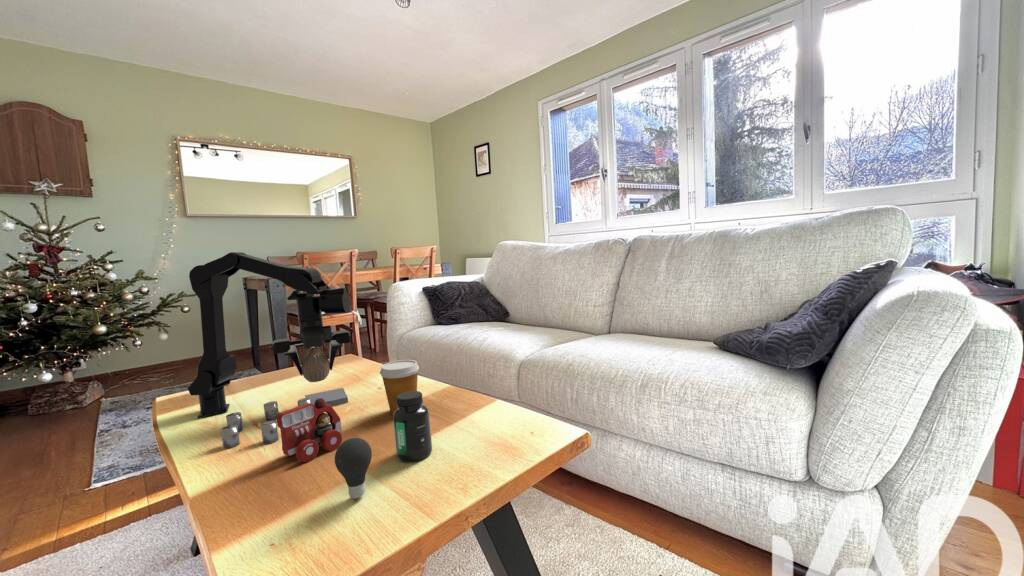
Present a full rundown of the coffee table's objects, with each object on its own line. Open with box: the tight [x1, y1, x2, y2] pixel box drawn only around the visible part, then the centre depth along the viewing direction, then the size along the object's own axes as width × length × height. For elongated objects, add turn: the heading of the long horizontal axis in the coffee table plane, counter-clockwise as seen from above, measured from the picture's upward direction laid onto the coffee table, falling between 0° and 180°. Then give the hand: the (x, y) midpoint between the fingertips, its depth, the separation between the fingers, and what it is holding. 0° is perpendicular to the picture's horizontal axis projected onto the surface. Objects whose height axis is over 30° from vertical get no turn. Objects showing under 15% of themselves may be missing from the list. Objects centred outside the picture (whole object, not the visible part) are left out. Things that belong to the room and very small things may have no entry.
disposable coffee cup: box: [379, 359, 420, 416], centre depth 103 cm, size 10×10×12 cm
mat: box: [304, 387, 349, 407], centre depth 114 cm, size 10×10×2 cm
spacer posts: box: [220, 397, 311, 450], centre depth 97 cm, size 18×18×4 cm
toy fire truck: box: [275, 398, 343, 463], centre depth 84 cm, size 7×12×10 cm, turn 145°
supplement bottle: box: [392, 390, 433, 463], centre depth 80 cm, size 7×7×12 cm
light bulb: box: [334, 437, 373, 501], centre depth 67 cm, size 6×6×10 cm
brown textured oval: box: [301, 346, 331, 383], centre depth 111 cm, size 7×7×9 cm
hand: (316, 372), depth 111 cm, fingers closed on brown textured oval, 7 cm apart
